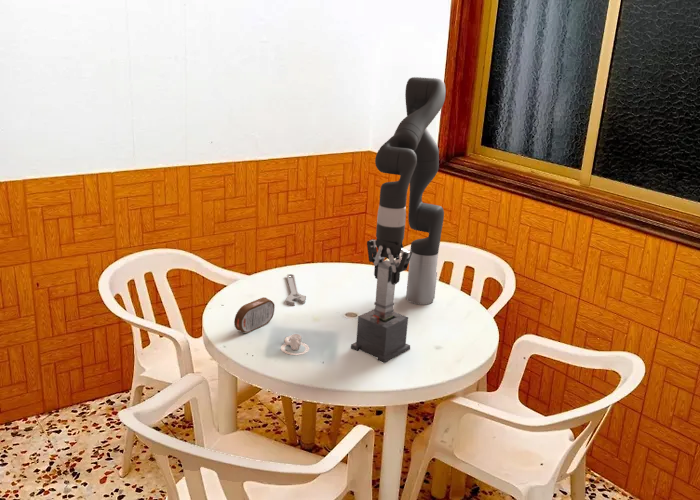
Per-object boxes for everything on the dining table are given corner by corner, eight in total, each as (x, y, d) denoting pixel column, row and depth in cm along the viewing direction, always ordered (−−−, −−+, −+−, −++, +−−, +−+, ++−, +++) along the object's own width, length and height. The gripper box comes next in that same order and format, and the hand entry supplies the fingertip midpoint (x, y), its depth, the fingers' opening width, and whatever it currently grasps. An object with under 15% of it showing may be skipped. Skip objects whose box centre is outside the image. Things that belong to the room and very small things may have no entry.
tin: (268, 318, 205) (269, 293, 203) (276, 321, 204) (276, 296, 201) (233, 334, 194) (233, 308, 191) (241, 338, 192) (241, 311, 189)
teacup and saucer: (283, 341, 193) (283, 328, 191) (310, 342, 193) (311, 330, 191) (278, 355, 184) (279, 342, 183) (307, 357, 184) (308, 344, 183)
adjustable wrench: (286, 278, 239) (286, 273, 238) (304, 278, 240) (304, 274, 239) (286, 306, 215) (286, 301, 215) (306, 307, 216) (306, 301, 215)
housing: (377, 335, 199) (379, 300, 195) (410, 349, 192) (413, 313, 188) (350, 348, 190) (353, 312, 186) (384, 363, 183) (387, 326, 179)
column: (381, 322, 191) (386, 259, 185) (392, 326, 189) (397, 263, 183) (372, 326, 188) (377, 263, 182) (383, 331, 186) (389, 267, 180)
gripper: (421, 225, 177) (415, 285, 182) (378, 213, 185) (374, 270, 191) (404, 230, 171) (399, 292, 177) (361, 218, 180) (357, 277, 186)
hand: (386, 280), depth 184 cm, fingers open, 5 cm apart
